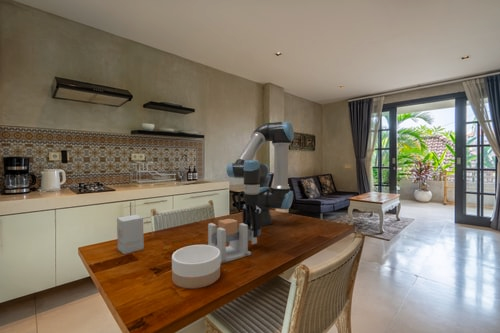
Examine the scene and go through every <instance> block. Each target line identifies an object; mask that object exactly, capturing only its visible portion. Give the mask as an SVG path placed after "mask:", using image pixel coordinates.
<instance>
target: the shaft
mask: <svg viewBox="0 0 500 333" xmlns="http://www.w3.org/2000/svg"><path fill="white" fill-rule="evenodd" d="M251 230H252V225H251V226H248V237H250V236H251ZM261 235H262V228H261V229H259V230H258V231H257V237H259V236H261ZM211 239H212V243H213V244H215V245H217V232H216V233H215V234H211ZM238 239H239V227H237V233H234V234H230V235H226V243H229V242H230V241H234V240H238Z"/></svg>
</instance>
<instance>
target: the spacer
mask: <svg viewBox="0 0 500 333" xmlns="http://www.w3.org/2000/svg"><path fill="white" fill-rule="evenodd" d="M232 219H233V218H226V219H220V220H218V222H217V223H218V224H217V225H218V227H217V228H223V229H225V230H226V235H230V234H234V233H237V229H238V220H236V219H234V220H232ZM235 220H236V221H235Z"/></svg>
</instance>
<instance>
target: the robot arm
mask: <svg viewBox="0 0 500 333" xmlns="http://www.w3.org/2000/svg"><path fill="white" fill-rule="evenodd" d="M294 131H295V130H294V127H293V125H292V123H291V122H289V121H274V122H266V123H265V122H264V123H263V124H261V125H259V126H258V127H257V128H256V129H255V130H254V131H253V132H252V133H251V134H250V135H251V136H250V139H249V141H248V142H247V144H246V145H245V147H244V149H242V151H241V153H240V154H239V156H238V157H237V159H236V161H235V162H232V163H228V165H227V166H226V174H227V176H228V177H230V178H236V179H243V202H244V204H241V210H242V211H241V213H242V223H244V224H246V225H248V226H252V230H251V236H250V237H248V242H251V243H250V244H251V245H256V244H258V236H257V231H258V230H259V229H261V230H262V227H263V226H269V225H272V224H273V219H272V214H271V211H270V209H276V210H277V209H279V210H289V209H290V208H291V207H292V204H293V200H294V191H293V190H291V187H290V186H289V147H290V145H291V144H292V142H293V141H294V139H295V133H294ZM266 142H271V145H272V146H273V147H274V148H273V149H274V150H273V151H274V152H273V154H274V155H273V156H274V158H273V160H274V164H273V185H272V186H271V189H270V186H261V187H260V185H261V184H260V182H261V181H260V180H261V179H263V180H264V179H265V178H268V177H269V175H270V174H271V173H270V172H271V168H270V166H269V165H268V164H266V163H260V160H257V159H256V160H255V156H256V154H257V153H258V151H259V150H260V148H261V147H262V146H263V145H264V144H266Z"/></svg>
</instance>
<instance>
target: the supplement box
mask: <svg viewBox="0 0 500 333" xmlns="http://www.w3.org/2000/svg"><path fill="white" fill-rule="evenodd" d="M116 228H117V229H116V231H117V232H116V235H117V237H116V238H117V250H118V251H119V252H121V254H123V255H126V254H130V253H134V252H138V251H141V250H144V249H145V244H144V243H145V242H144V241H145V238H144V236H145V235H144V218H143V217H142V216H140V215H138V214H131V215H126V216H121V217H117V218H116Z"/></svg>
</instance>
